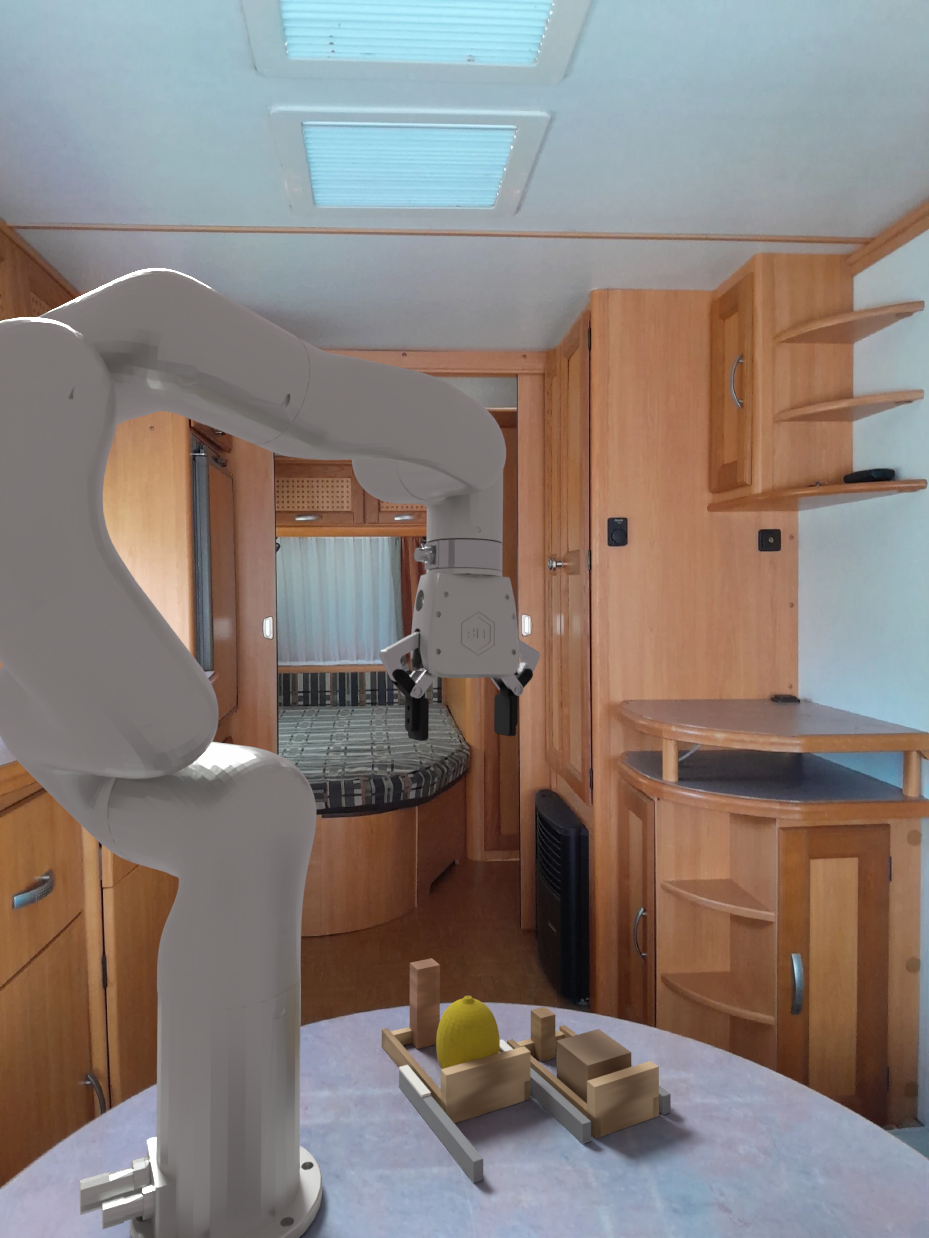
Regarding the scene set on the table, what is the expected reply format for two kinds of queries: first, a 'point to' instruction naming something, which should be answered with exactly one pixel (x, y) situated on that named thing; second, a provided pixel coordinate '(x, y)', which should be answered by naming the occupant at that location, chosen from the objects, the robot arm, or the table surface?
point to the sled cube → (596, 1081)
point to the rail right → (664, 1101)
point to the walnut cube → (589, 1059)
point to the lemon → (466, 1033)
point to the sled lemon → (466, 1083)
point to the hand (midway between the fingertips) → (462, 736)
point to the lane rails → (456, 1139)
